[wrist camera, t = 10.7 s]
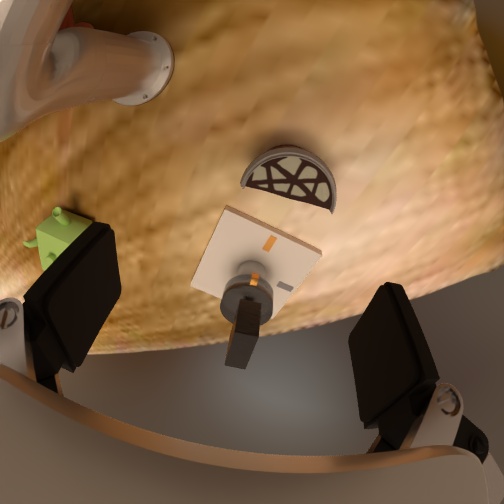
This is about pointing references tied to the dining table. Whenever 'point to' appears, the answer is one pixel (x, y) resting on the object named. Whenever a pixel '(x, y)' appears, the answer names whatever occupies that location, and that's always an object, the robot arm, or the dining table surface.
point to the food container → (292, 176)
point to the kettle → (57, 234)
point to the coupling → (245, 315)
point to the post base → (254, 257)
